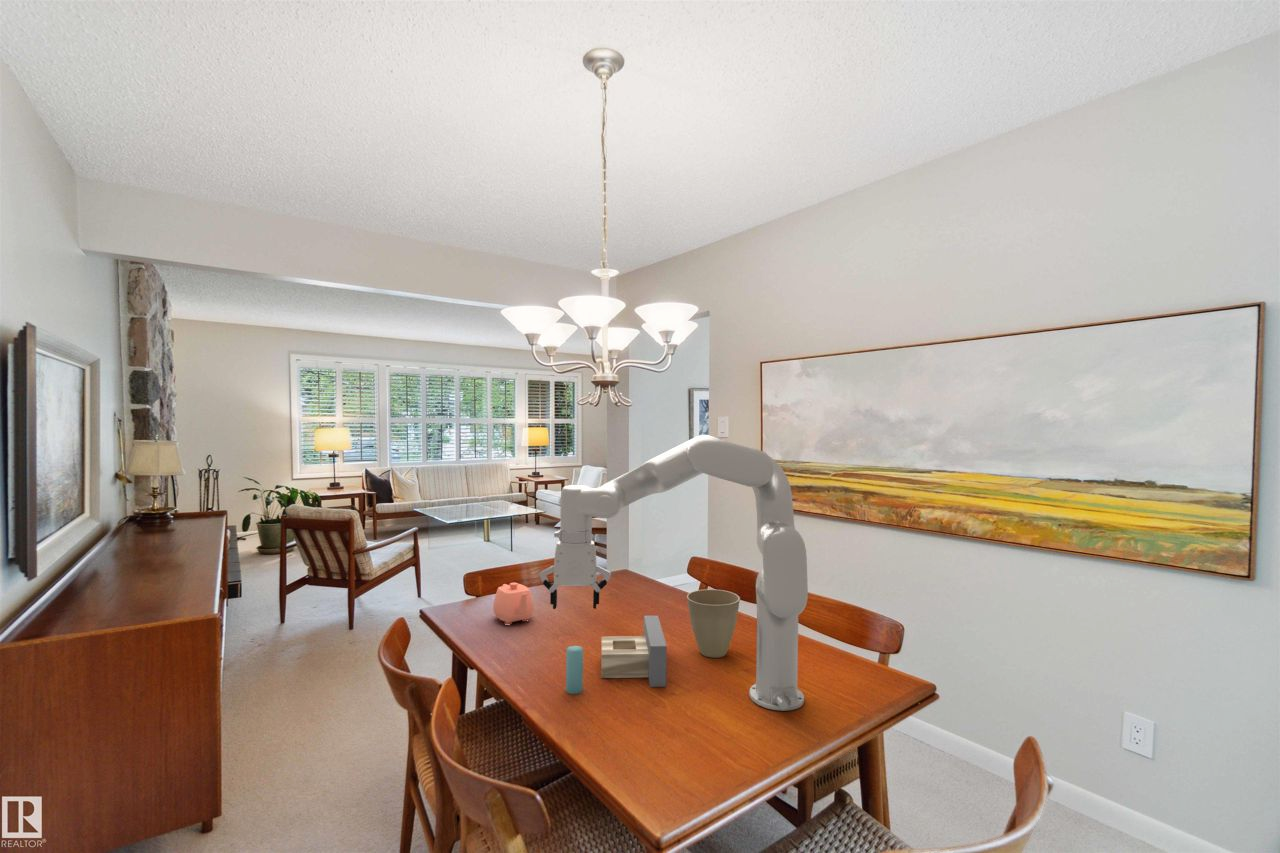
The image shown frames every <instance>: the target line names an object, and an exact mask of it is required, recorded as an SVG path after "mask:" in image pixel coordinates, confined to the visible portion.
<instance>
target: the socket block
mask: <svg viewBox="0 0 1280 853" xmlns="http://www.w3.org/2000/svg"><path fill="white" fill-rule="evenodd" d="M600 659H601V660H600V661H601V668H600V669H601V671H600V672H601V673H600V674H601V679H621V678H622V679H626V678H627V679H628V678H648V668H649V653H648V648H647V643H646V638H645V636H644V635H630V636H629V635H627V636H626V635H625V636H624V635H623V636H622V635H620V636H618V635H617V636H615V635H614V636H613V635H611V636H601V658H600Z"/></svg>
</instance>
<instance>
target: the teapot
mask: <svg viewBox="0 0 1280 853" xmlns="http://www.w3.org/2000/svg"><path fill="white" fill-rule="evenodd" d="M534 607H535V606H534V600H533V596H532V593H531V590H530V588H528V586H526V585H523V584H521V583H518V582H510V583H509V584H506V583H504V584H502V585H501V586H498V587H497V590H496V593H495V596H494V600H493V613H494V615H495V616H496V618H497V619H498V618H499V619H500V620H499V621H502V622H504V624H512V625H513V622H518V621H521V620H522V621H527V620H529V621H530V619H531V618H532V617H533V615H534V611H535V608H534ZM522 621H521V622H522Z"/></svg>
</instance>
